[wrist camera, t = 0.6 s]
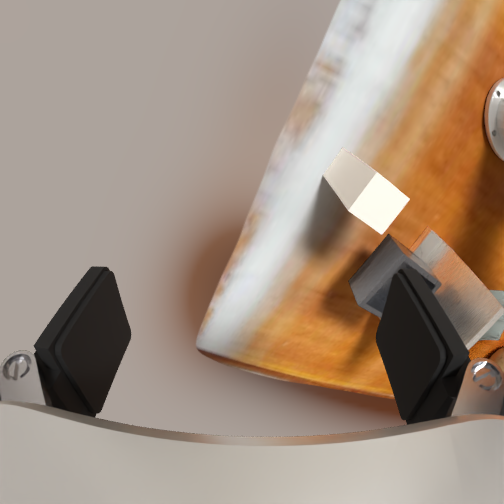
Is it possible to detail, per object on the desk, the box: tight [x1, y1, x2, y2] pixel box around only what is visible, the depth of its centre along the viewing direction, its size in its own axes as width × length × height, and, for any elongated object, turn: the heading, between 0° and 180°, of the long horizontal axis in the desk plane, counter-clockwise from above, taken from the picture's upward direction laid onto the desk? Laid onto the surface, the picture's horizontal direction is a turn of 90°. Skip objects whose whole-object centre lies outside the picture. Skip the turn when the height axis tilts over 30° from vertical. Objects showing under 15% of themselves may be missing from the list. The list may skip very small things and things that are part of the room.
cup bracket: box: [348, 227, 504, 350], centre depth 33 cm, size 14×14×16 cm
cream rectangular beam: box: [323, 147, 410, 235], centre depth 29 cm, size 4×4×11 cm
